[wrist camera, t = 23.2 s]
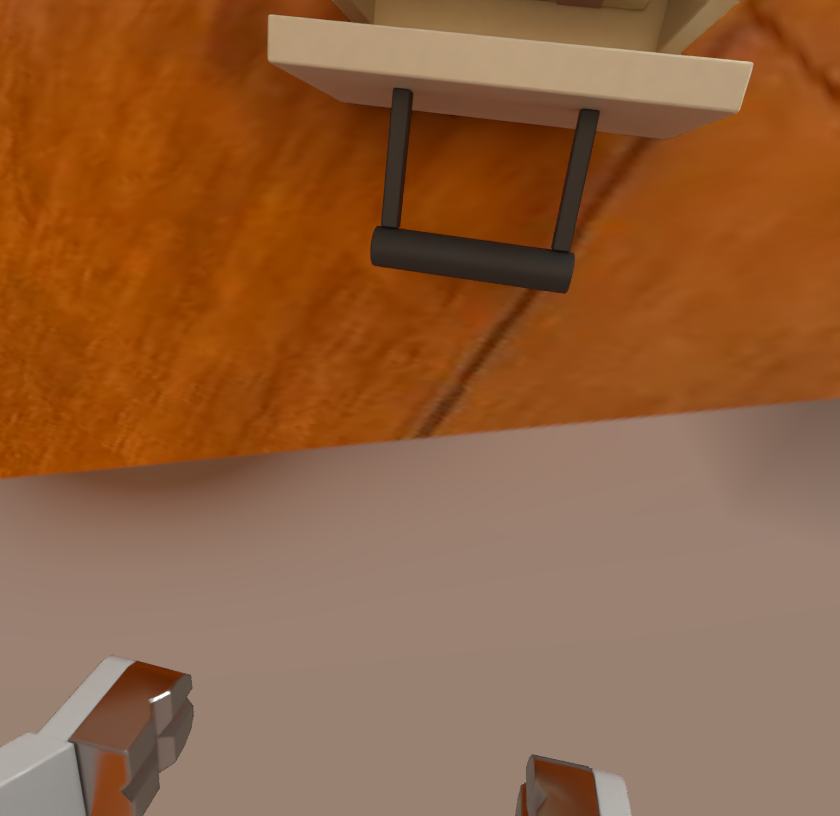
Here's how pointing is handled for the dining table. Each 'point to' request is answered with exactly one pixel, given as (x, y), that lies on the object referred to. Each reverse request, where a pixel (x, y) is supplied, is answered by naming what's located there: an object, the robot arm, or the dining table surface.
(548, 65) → the drawer
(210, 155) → the dining table surface
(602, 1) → the tan and red block
